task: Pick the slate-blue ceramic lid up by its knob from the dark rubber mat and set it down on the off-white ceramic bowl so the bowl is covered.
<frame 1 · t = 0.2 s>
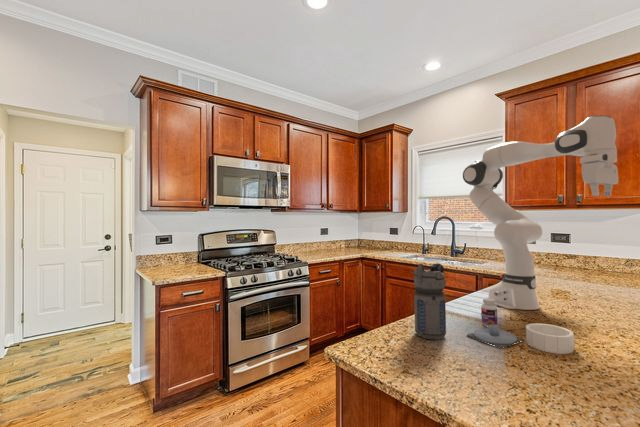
hand: (601, 196, 116), 48 cm above the countertop, fingers open, 8 cm apart
bowl: (549, 345, 98), on the countertop
pill bottle: (489, 325, 118), on the countertop
lid: (494, 337, 105), point 1 cm above the countertop, touching mat
beverage bottle: (431, 335, 109), on the countertop
mat: (494, 338, 105), on the countertop
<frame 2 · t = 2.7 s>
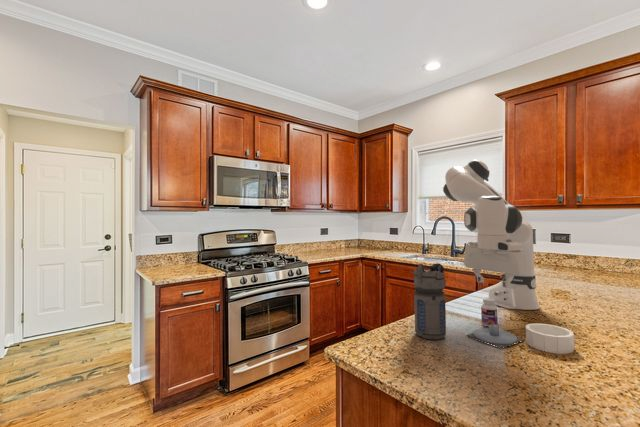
hand: (492, 284, 106), 18 cm above the countertop, fingers open, 8 cm apart
nothing on the countertop moved.
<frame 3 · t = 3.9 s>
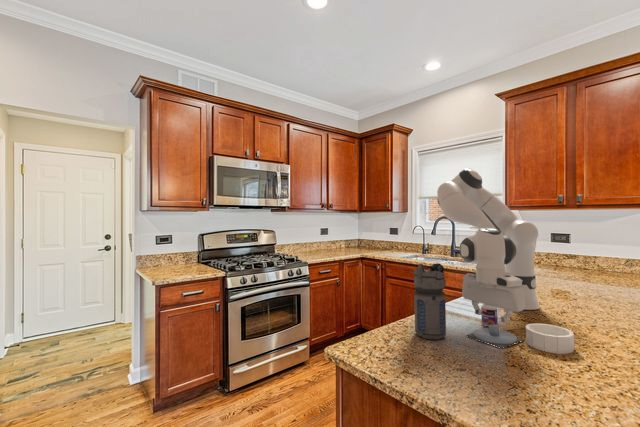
hand: (491, 318, 105), 7 cm above the countertop, fingers open, 8 cm apart
nothing on the countertop moved.
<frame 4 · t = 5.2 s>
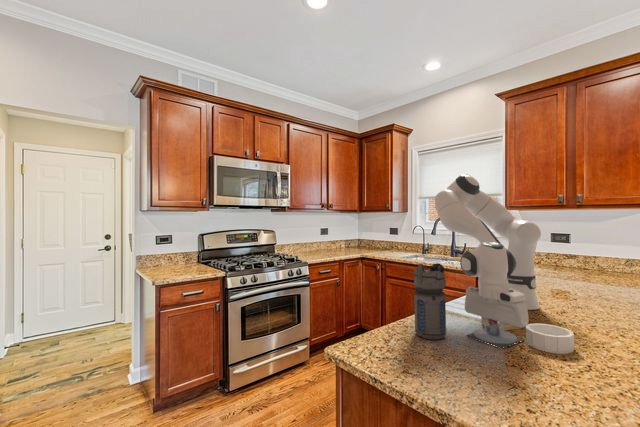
hand: (494, 332, 105), 2 cm above the countertop, fingers closed on lid, 3 cm apart
lid: (494, 337, 105), point 1 cm above the countertop, touching gripper, mat
everything else where it was.
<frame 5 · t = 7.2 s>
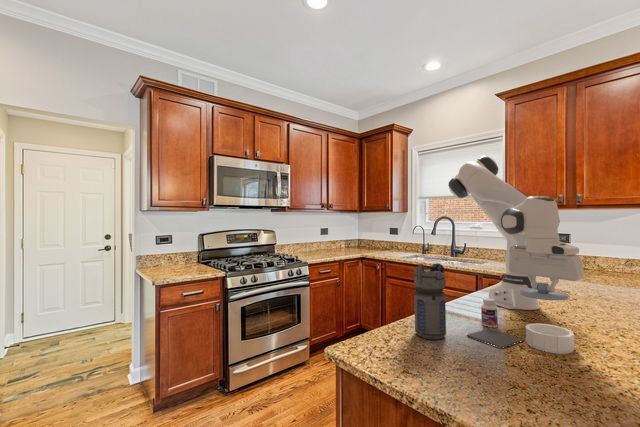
hand: (543, 290, 99), 17 cm above the countertop, fingers closed on lid, 3 cm apart
lid: (543, 295, 99), point 16 cm above the countertop, touching gripper
everything else where it was.
when the fingers open (8 cm above the countertop, at t = 9.3 s): lid drops 1 cm, resting on bowl.
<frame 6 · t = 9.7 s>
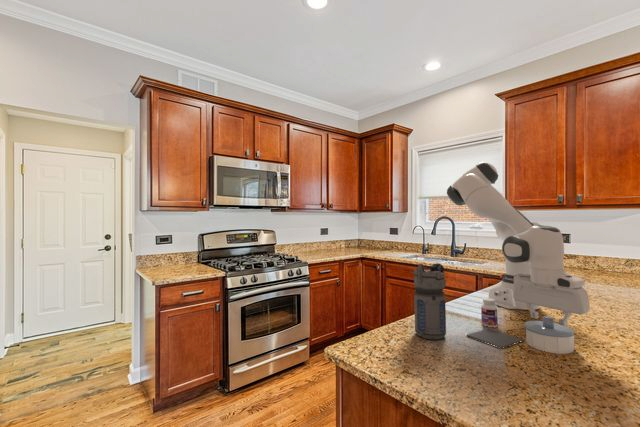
hand: (548, 321, 98), 8 cm above the countertop, fingers open, 7 cm apart
lid: (548, 329, 98), point 5 cm above the countertop, touching bowl
everything else where it was.
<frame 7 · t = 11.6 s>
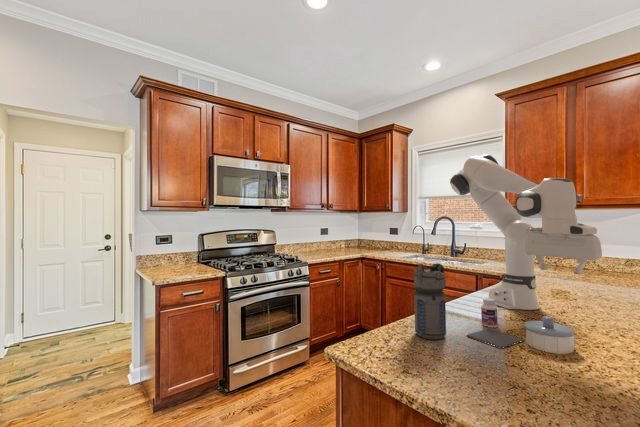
hand: (560, 271, 100), 23 cm above the countertop, fingers open, 8 cm apart
nothing on the countertop moved.
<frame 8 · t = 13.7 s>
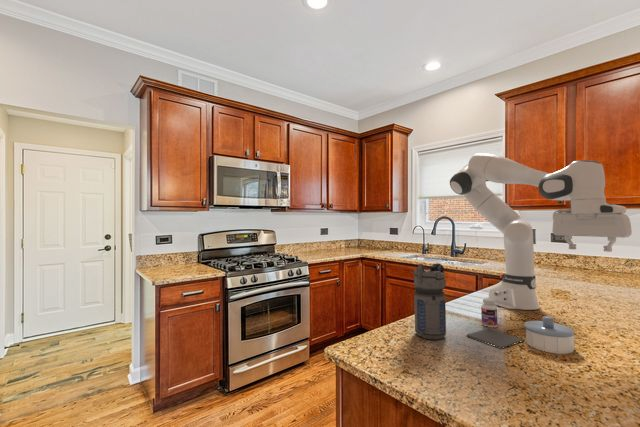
hand: (589, 250, 104), 29 cm above the countertop, fingers open, 8 cm apart
nothing on the countertop moved.
at the end: lid 0.1 cm off-centre on the bowl, point 5.0 cm above the bowl's base; lid tilted 0°; the gripper is holding nothing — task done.
